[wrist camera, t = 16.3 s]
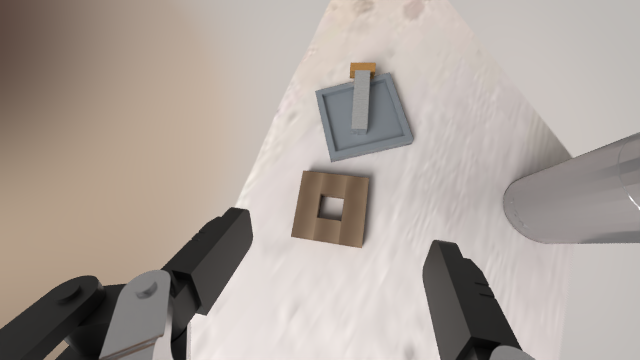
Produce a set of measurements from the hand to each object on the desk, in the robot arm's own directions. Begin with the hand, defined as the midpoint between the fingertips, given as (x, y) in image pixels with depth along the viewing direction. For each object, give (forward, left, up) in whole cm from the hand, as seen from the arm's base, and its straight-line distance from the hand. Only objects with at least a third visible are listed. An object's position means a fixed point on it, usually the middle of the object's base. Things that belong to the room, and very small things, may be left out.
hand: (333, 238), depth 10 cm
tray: (-7, -19, -24) cm, 32 cm away
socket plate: (+1, -5, -24) cm, 25 cm away
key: (-6, -16, -22) cm, 28 cm away
